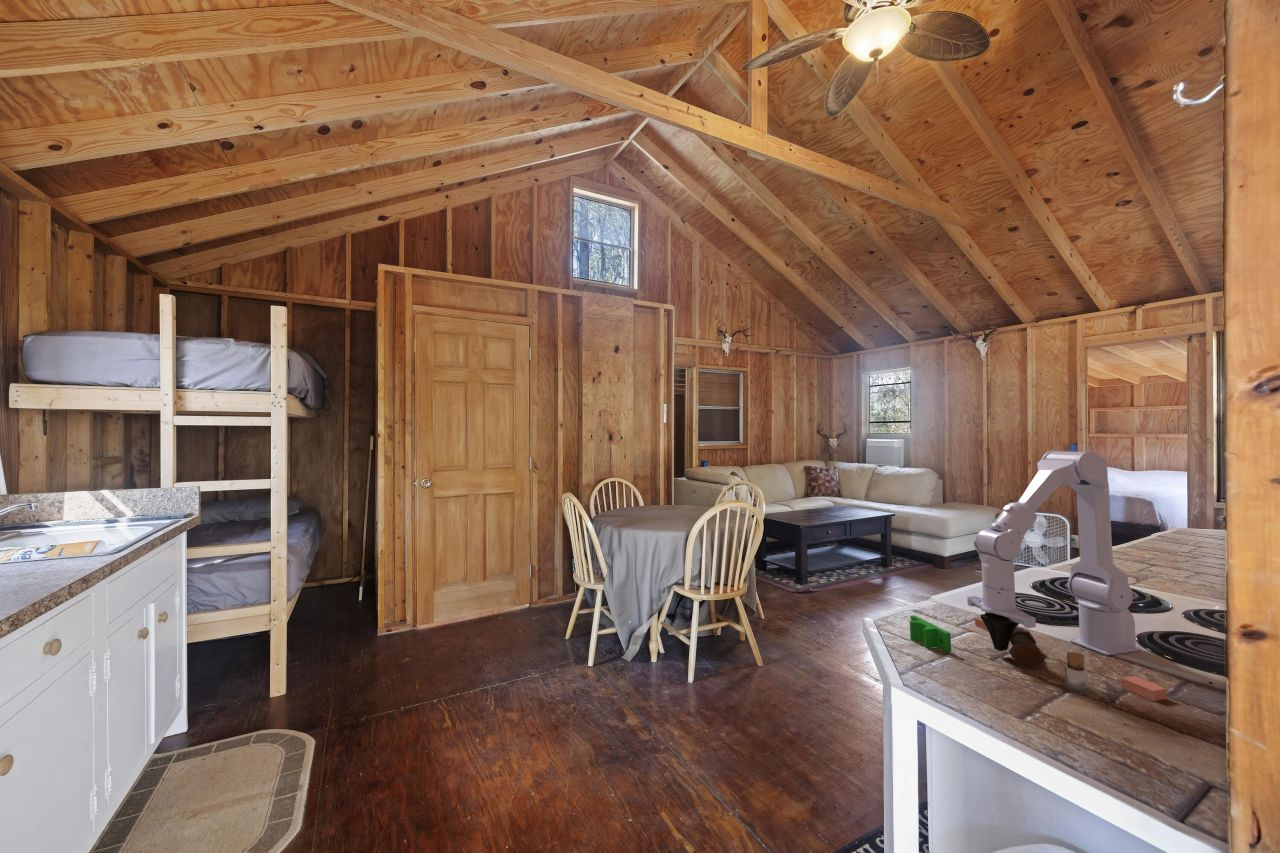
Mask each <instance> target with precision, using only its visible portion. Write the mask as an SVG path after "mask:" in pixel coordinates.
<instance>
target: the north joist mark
mask: <svg viewBox="0 0 1280 853" xmlns="http://www.w3.org/2000/svg"><path fill="white" fill-rule="evenodd" d="M1120 681H1121V683H1120V684H1121V689H1125V690H1127V691H1128V692H1132V693H1133V694H1136V695H1138V696H1140V695H1141V697H1143V698H1145V699H1148V700H1149V701H1150V700H1151V701H1153V702H1156V701H1162V700H1167V698H1168V696H1167V688H1165V687H1163V686H1160V685H1158V684H1155V683H1152V682H1150V681H1148V680H1145V679H1143V678H1140V677H1138V676H1135V675H1132V676H1125V677H1120Z"/></svg>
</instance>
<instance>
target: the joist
mask: <svg viewBox="0 0 1280 853" xmlns="http://www.w3.org/2000/svg"><path fill="white" fill-rule="evenodd" d="M974 625H975V626H976V627H978V628H979V629H980V628H981V629H982V630H985V631H988V629H987V627H986V625H985V624H984V622H983V620H982V619H981V617H974ZM988 632H989V631H988Z"/></svg>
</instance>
